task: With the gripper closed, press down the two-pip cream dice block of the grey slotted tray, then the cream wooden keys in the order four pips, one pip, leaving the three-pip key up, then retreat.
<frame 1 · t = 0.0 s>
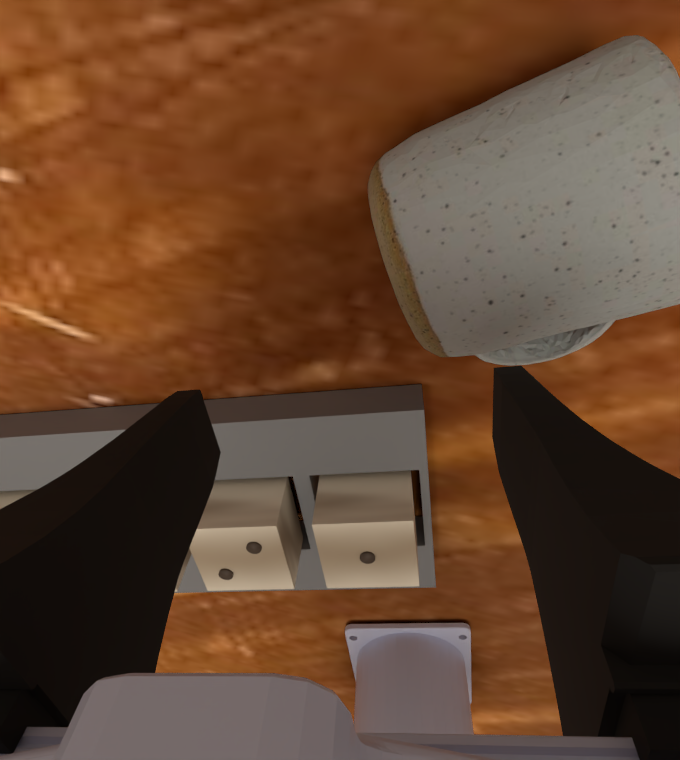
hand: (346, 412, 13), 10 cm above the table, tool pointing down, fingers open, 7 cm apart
ceramic mug: (516, 221, 21), on the table
grey slotted tray: (207, 491, 29), on the table
key 1: (368, 530, 25), point 3 cm above the table, slide at 0.0 cm
key 4: (26, 542, 28), point 3 cm above the table, slide at 0.0 cm
key 3: (133, 538, 27), point 3 cm above the table, slide at 0.0 cm
cream dice block 2: (247, 534, 26), point 3 cm above the table, slide at 0.0 cm
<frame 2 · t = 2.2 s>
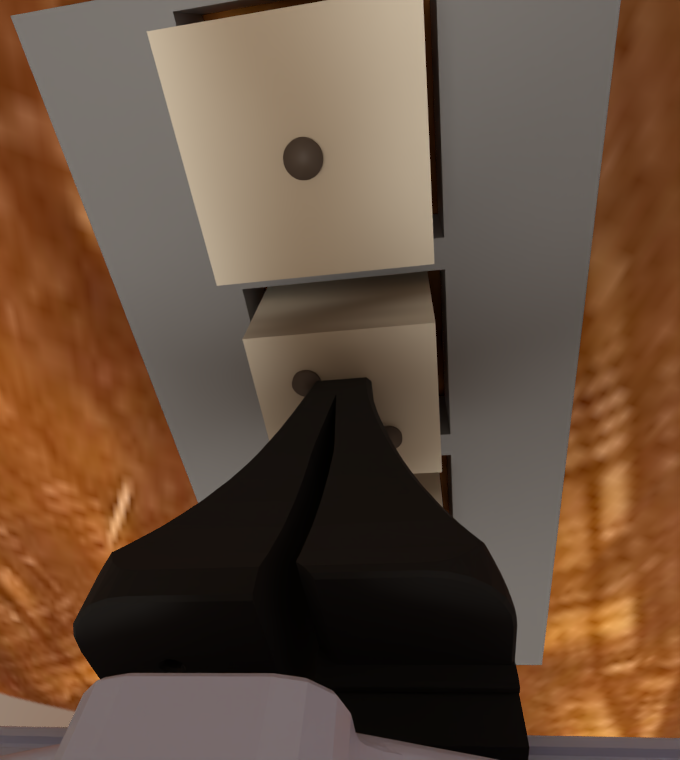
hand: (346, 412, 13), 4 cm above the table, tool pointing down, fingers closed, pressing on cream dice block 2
grey slotted tray: (367, 411, 18), on the table
key 1: (314, 143, 11), point 3 cm above the table, slide at 0.0 cm
key 3: (374, 544, 17), point 3 cm above the table, slide at 0.0 cm
cream dice block 2: (352, 376, 14), point 3 cm above the table, slide at 0.7 cm, touching gripper
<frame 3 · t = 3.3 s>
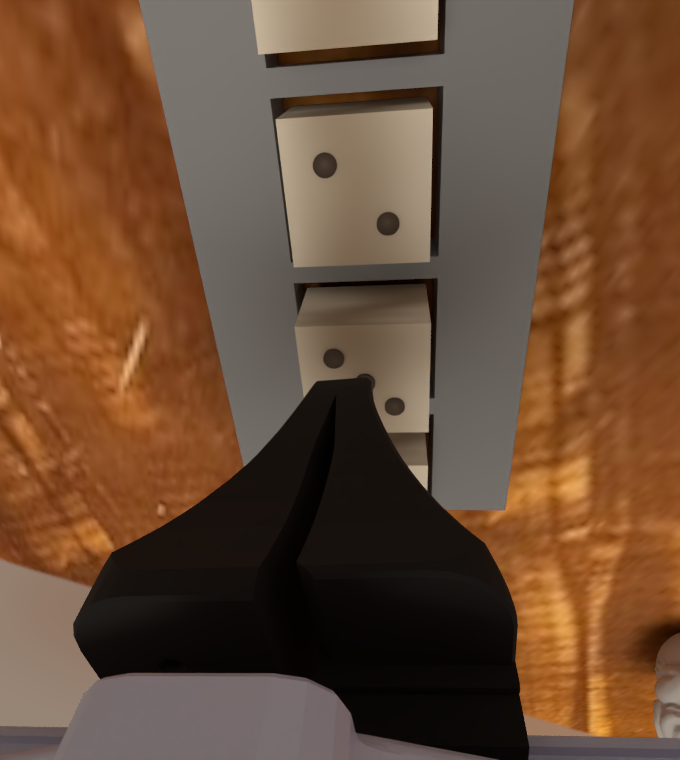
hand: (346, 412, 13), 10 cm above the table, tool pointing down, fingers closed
grey slotted tray: (366, 251, 21), on the table
key 4: (373, 479, 23), point 3 cm above the table, slide at 0.0 cm
key 3: (366, 359, 20), point 3 cm above the table, slide at 0.0 cm
cream dice block 2: (359, 182, 17), point 2 cm above the table, slide at 1.1 cm
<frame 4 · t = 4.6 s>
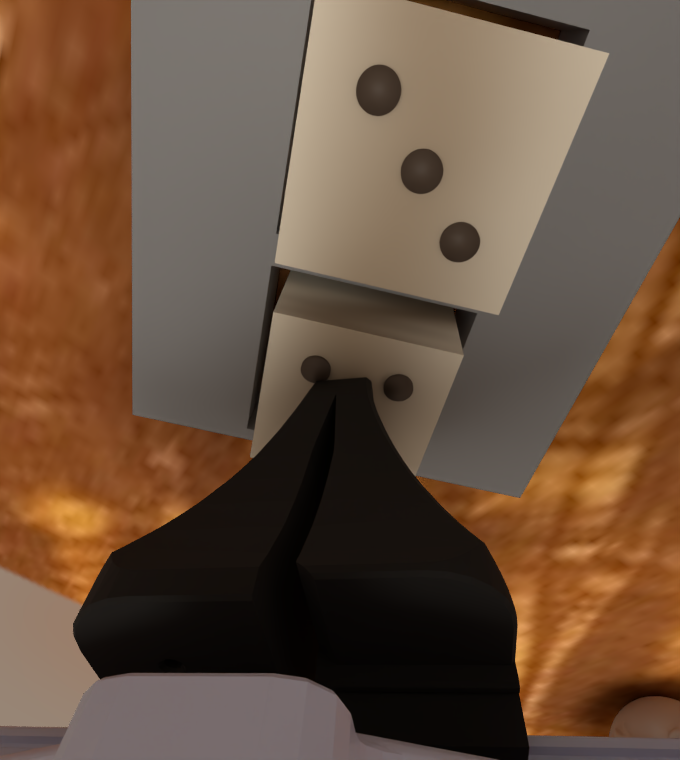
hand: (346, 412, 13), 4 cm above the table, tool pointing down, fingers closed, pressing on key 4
frog figurine: (641, 699, 26), on the table
key 4: (351, 376, 14), point 2 cm above the table, slide at 1.1 cm, touching gripper
key 3: (417, 153, 10), point 3 cm above the table, slide at 0.0 cm
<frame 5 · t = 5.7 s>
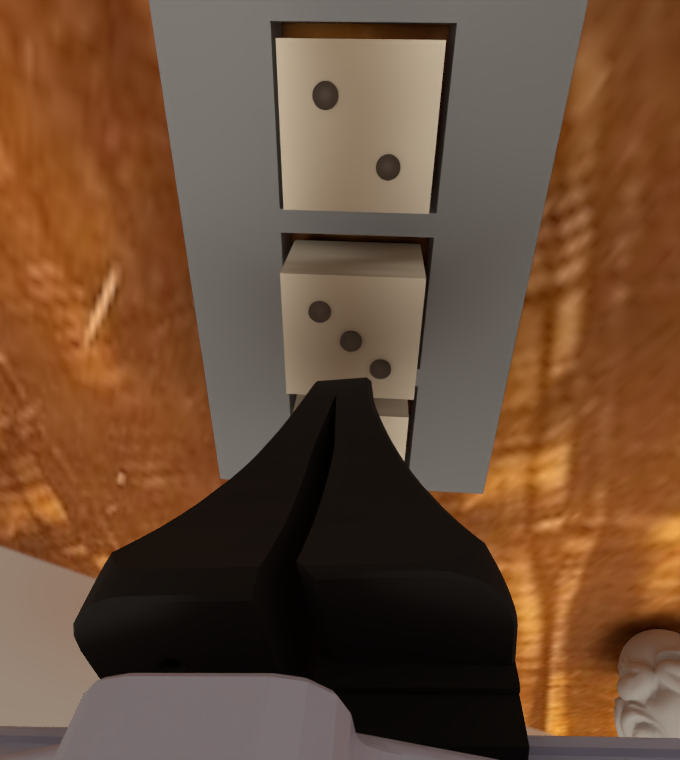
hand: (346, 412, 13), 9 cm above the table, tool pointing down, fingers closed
grey slotted tray: (359, 207, 20), on the table
frog figurine: (644, 635, 32), on the table
key 4: (351, 434, 23), point 2 cm above the table, slide at 1.1 cm
key 3: (353, 319, 19), point 3 cm above the table, slide at 0.0 cm
cream dice block 2: (359, 124, 16), point 2 cm above the table, slide at 1.1 cm
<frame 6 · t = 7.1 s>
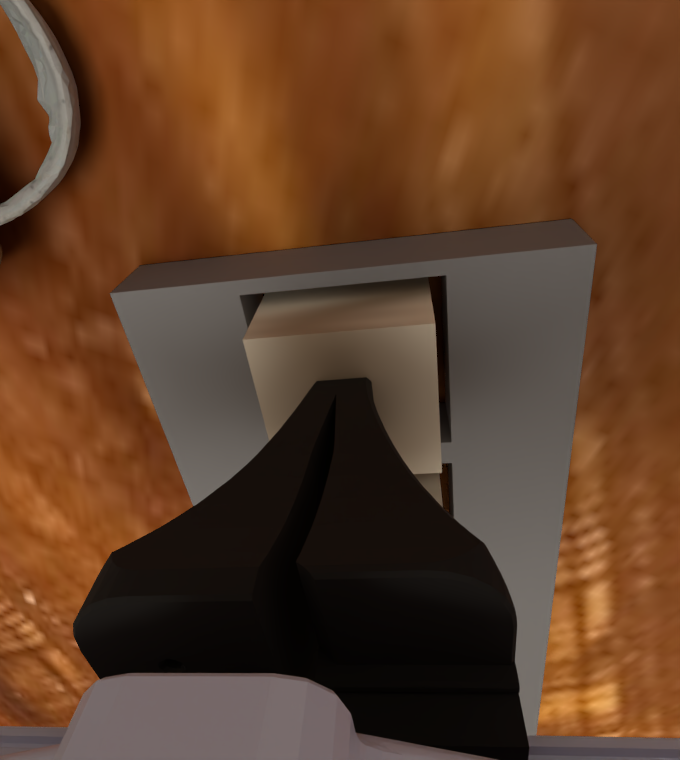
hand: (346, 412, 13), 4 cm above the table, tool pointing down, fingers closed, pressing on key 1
grey slotted tray: (383, 539, 21), on the table
key 1: (352, 377, 14), point 2 cm above the table, slide at 1.0 cm, touching gripper
cream dice block 2: (374, 526, 18), point 2 cm above the table, slide at 1.1 cm
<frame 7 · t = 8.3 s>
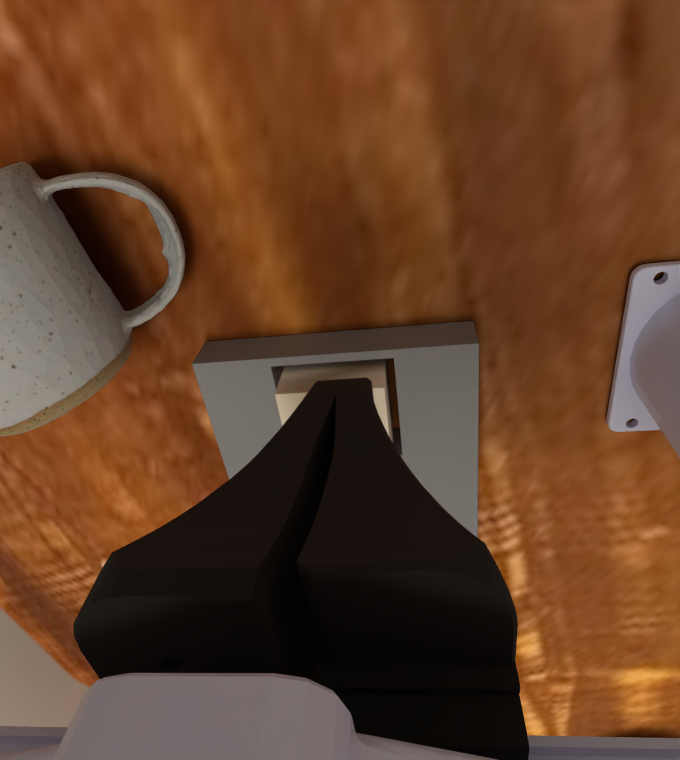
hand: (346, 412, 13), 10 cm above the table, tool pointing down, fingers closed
ceramic mug: (74, 250, 23), on the table
grey slotted tray: (363, 521, 30), on the table
key 1: (339, 413, 24), point 2 cm above the table, slide at 1.1 cm
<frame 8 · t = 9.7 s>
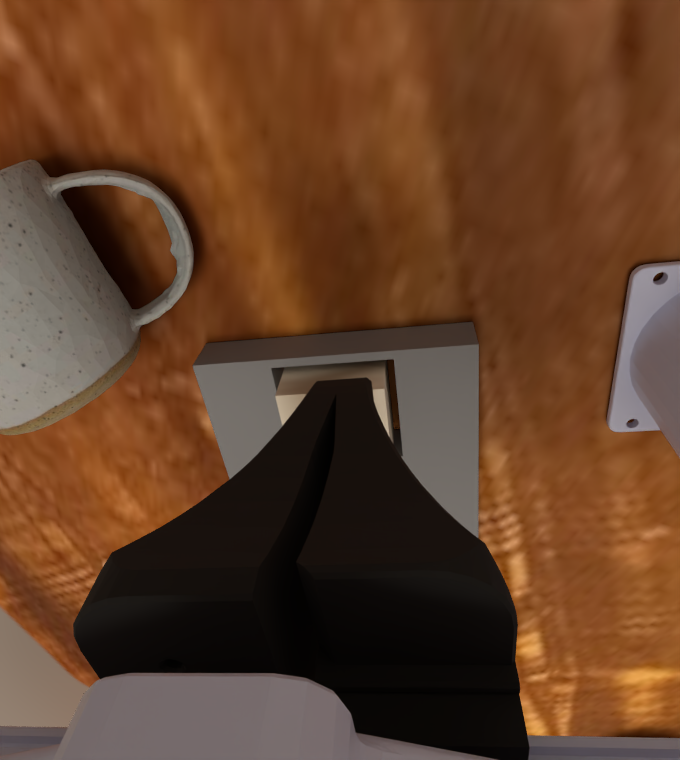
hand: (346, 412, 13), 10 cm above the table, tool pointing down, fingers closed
ceramic mug: (81, 249, 23), on the table
grey slotted tray: (364, 521, 30), on the table
key 1: (339, 414, 24), point 2 cm above the table, slide at 1.1 cm
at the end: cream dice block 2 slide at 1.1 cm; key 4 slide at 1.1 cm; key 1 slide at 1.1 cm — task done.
